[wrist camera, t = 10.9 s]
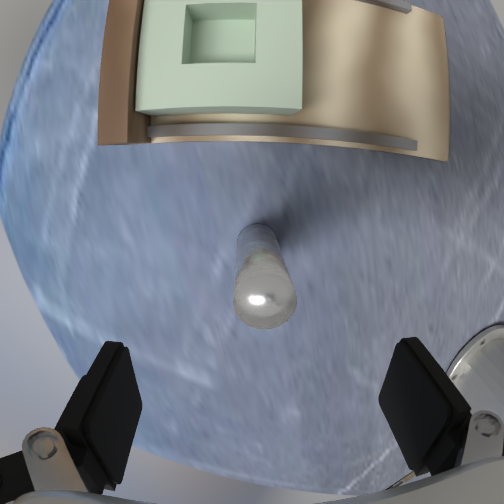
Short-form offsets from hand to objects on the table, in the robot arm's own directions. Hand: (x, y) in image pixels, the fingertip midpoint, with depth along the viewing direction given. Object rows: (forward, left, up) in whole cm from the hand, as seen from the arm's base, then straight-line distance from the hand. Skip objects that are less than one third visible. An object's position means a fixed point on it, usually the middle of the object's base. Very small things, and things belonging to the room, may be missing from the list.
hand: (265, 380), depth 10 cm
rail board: (-3, -15, -16) cm, 22 cm away
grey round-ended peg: (0, 0, -16) cm, 16 cm away
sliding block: (+2, -15, -15) cm, 21 cm away
